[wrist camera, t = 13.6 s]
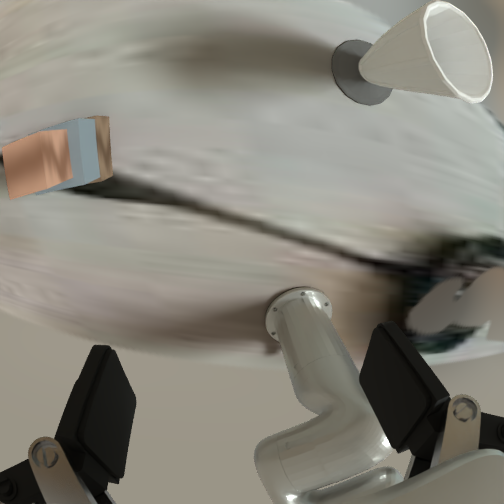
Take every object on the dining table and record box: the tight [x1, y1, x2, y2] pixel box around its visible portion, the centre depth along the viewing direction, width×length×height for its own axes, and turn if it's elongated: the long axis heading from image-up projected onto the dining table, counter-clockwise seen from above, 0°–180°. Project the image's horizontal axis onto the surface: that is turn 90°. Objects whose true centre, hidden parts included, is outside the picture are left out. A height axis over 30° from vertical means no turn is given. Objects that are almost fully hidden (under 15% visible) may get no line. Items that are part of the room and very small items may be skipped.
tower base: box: [84, 116, 113, 184], centre depth 33 cm, size 9×9×5 cm
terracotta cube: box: [2, 129, 73, 200], centre depth 23 cm, size 6×6×6 cm
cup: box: [332, 0, 493, 105], centre depth 25 cm, size 12×12×22 cm
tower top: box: [28, 118, 100, 195], centre depth 28 cm, size 8×8×5 cm
